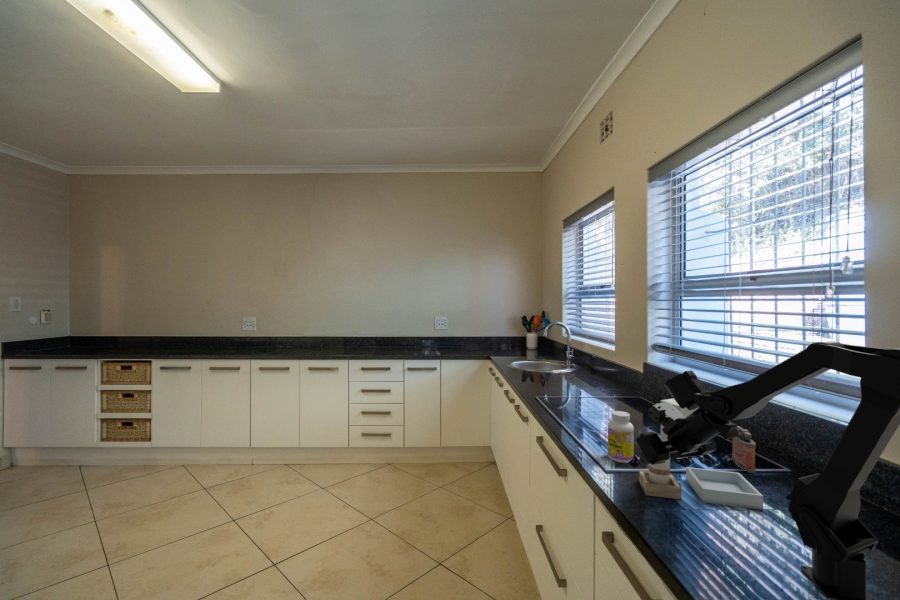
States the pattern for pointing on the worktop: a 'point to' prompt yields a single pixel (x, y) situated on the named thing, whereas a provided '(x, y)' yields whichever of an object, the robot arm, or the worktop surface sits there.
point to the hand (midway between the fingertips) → (654, 459)
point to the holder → (659, 487)
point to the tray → (724, 488)
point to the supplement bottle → (620, 437)
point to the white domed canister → (660, 473)
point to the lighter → (744, 450)
